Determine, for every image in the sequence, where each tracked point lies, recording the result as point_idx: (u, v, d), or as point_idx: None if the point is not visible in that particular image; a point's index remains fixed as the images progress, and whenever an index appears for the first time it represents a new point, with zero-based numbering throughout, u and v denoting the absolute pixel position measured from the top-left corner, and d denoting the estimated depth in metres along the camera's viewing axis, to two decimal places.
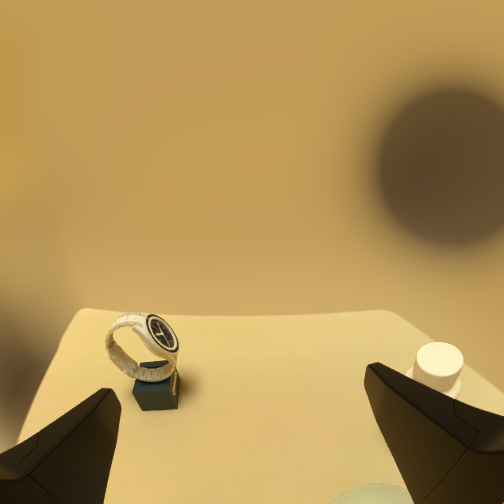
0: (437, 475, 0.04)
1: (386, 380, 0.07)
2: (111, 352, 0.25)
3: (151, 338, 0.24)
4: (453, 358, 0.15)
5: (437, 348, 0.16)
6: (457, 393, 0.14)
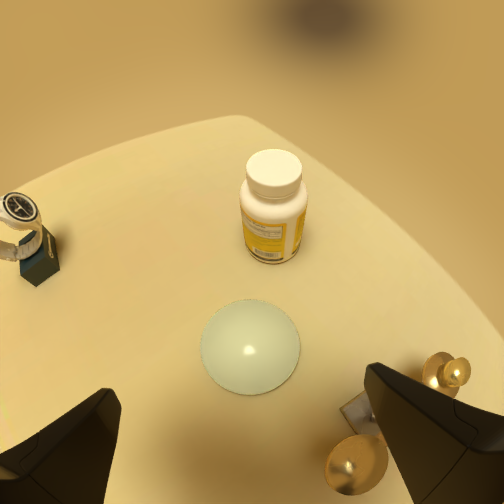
0: (438, 475, 0.04)
1: (386, 380, 0.07)
2: None
3: (11, 217, 0.18)
4: (289, 166, 0.19)
5: (271, 155, 0.19)
6: (302, 203, 0.20)
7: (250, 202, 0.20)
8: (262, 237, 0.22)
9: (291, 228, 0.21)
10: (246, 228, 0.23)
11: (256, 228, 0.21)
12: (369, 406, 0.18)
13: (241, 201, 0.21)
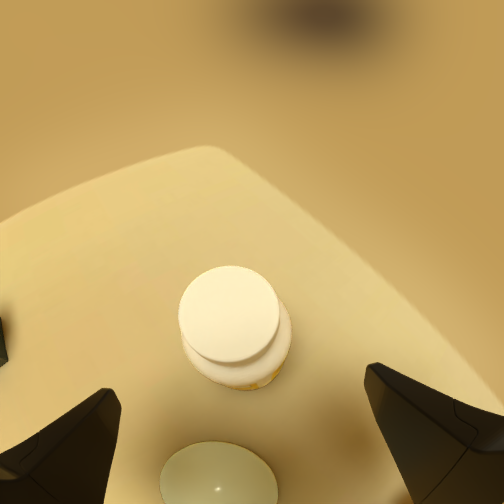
0: (437, 475, 0.04)
1: (386, 380, 0.07)
2: None
3: None
4: (256, 313, 0.10)
5: (224, 284, 0.11)
6: (282, 356, 0.12)
7: (195, 357, 0.12)
8: None
9: (265, 379, 0.13)
10: None
11: None
12: None
13: (183, 347, 0.12)
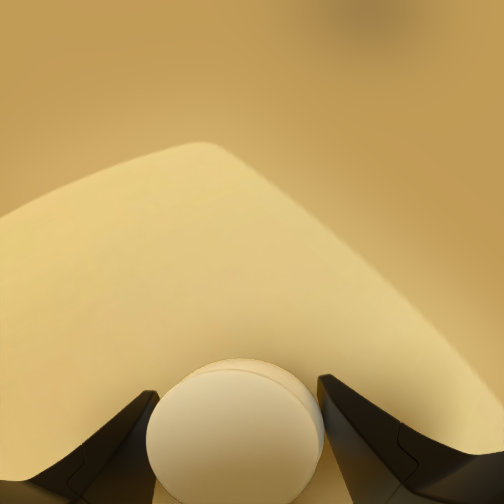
0: (379, 501, 0.04)
1: (332, 394, 0.07)
2: None
3: None
4: (279, 455, 0.05)
5: (221, 405, 0.05)
6: None
7: None
8: None
9: None
10: None
11: None
12: None
13: None
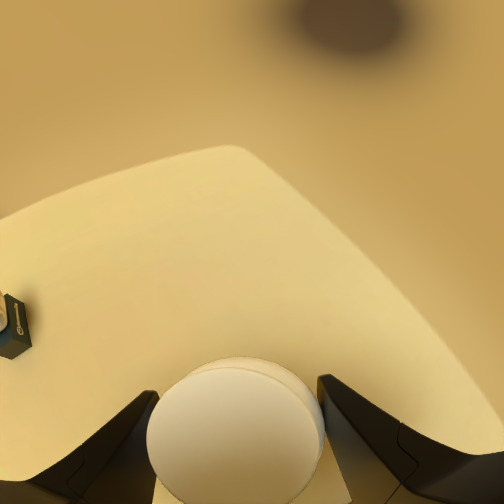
0: (379, 501, 0.04)
1: (332, 394, 0.07)
2: None
3: None
4: (279, 454, 0.05)
5: (221, 403, 0.05)
6: None
7: None
8: None
9: None
10: None
11: None
12: None
13: None
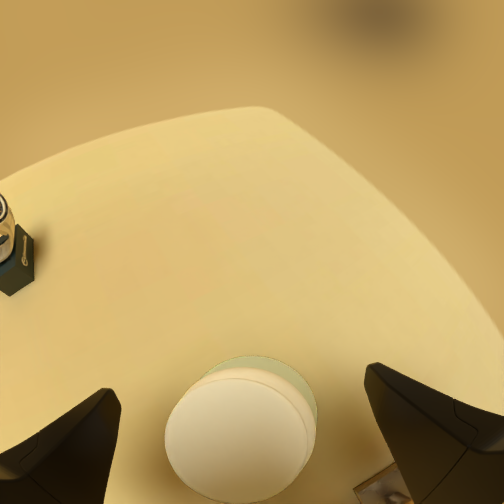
0: (437, 475, 0.04)
1: (386, 380, 0.07)
2: None
3: None
4: (275, 448, 0.06)
5: (227, 407, 0.07)
6: (302, 466, 0.07)
7: None
8: None
9: None
10: None
11: None
12: (388, 489, 0.11)
13: None
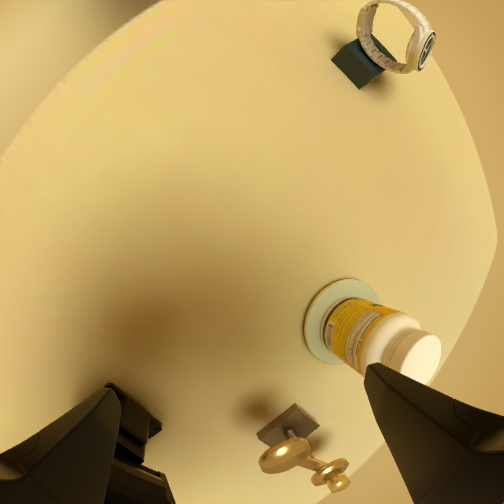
0: (437, 475, 0.04)
1: (386, 380, 0.07)
2: (367, 8, 0.15)
3: (421, 47, 0.14)
4: (420, 378, 0.14)
5: (433, 354, 0.14)
6: None
7: (381, 342, 0.15)
8: (345, 344, 0.18)
9: (359, 373, 0.17)
10: (353, 322, 0.18)
11: (354, 342, 0.17)
12: (299, 425, 0.23)
13: (382, 326, 0.16)
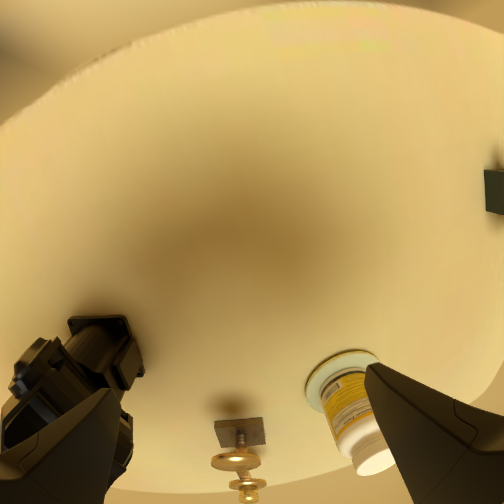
0: (437, 475, 0.04)
1: (386, 380, 0.07)
2: None
3: None
4: (372, 470, 0.14)
5: (393, 459, 0.14)
6: (344, 456, 0.17)
7: (368, 429, 0.16)
8: (340, 409, 0.19)
9: (333, 435, 0.18)
10: (357, 397, 0.19)
11: (348, 414, 0.18)
12: (252, 435, 0.25)
13: None
